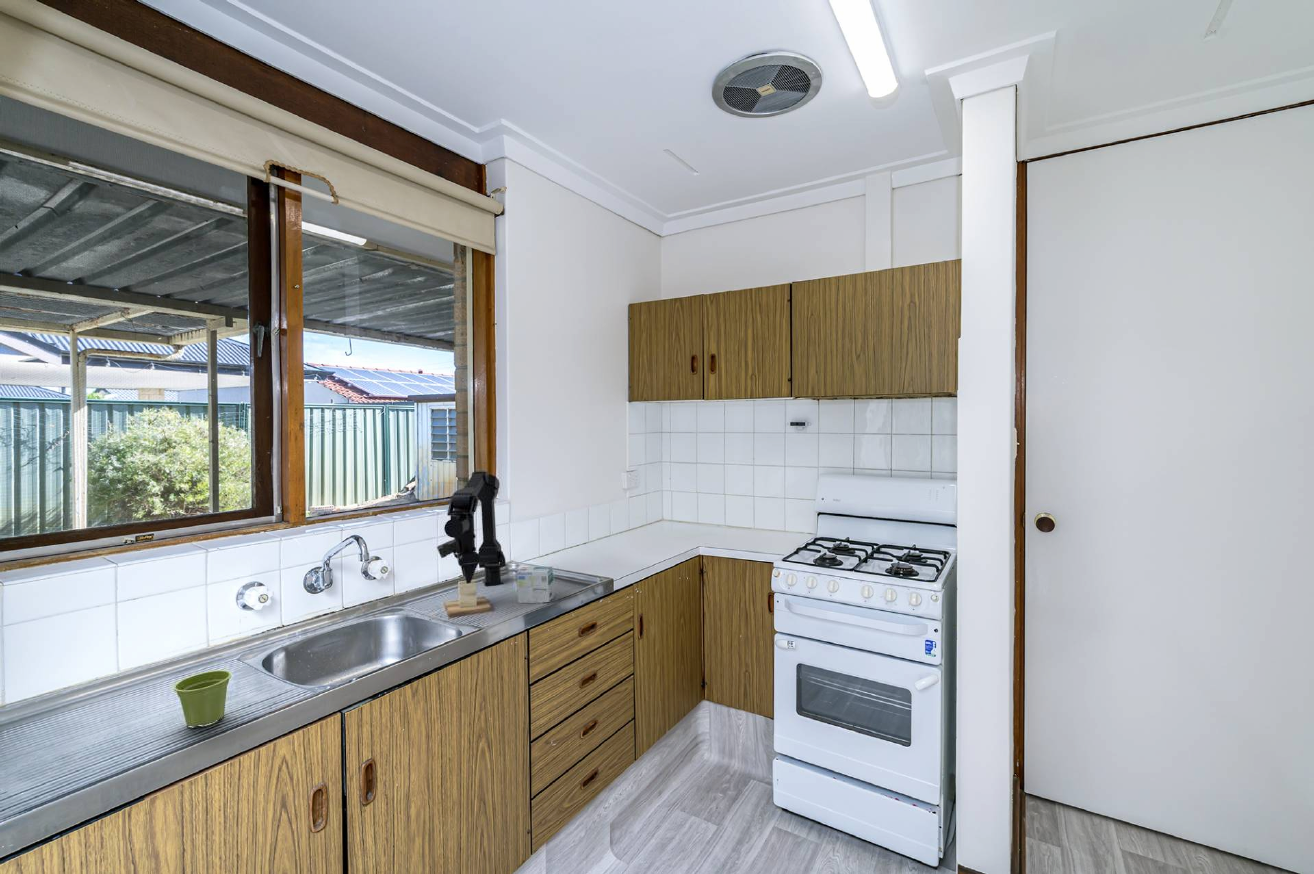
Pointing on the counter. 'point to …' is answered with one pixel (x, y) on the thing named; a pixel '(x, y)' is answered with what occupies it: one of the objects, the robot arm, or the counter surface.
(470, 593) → the beech block
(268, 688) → the counter surface
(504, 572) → the counter surface
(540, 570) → the light bulb box
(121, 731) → the counter surface
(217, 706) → the plant pot
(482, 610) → the tan wooden panel
